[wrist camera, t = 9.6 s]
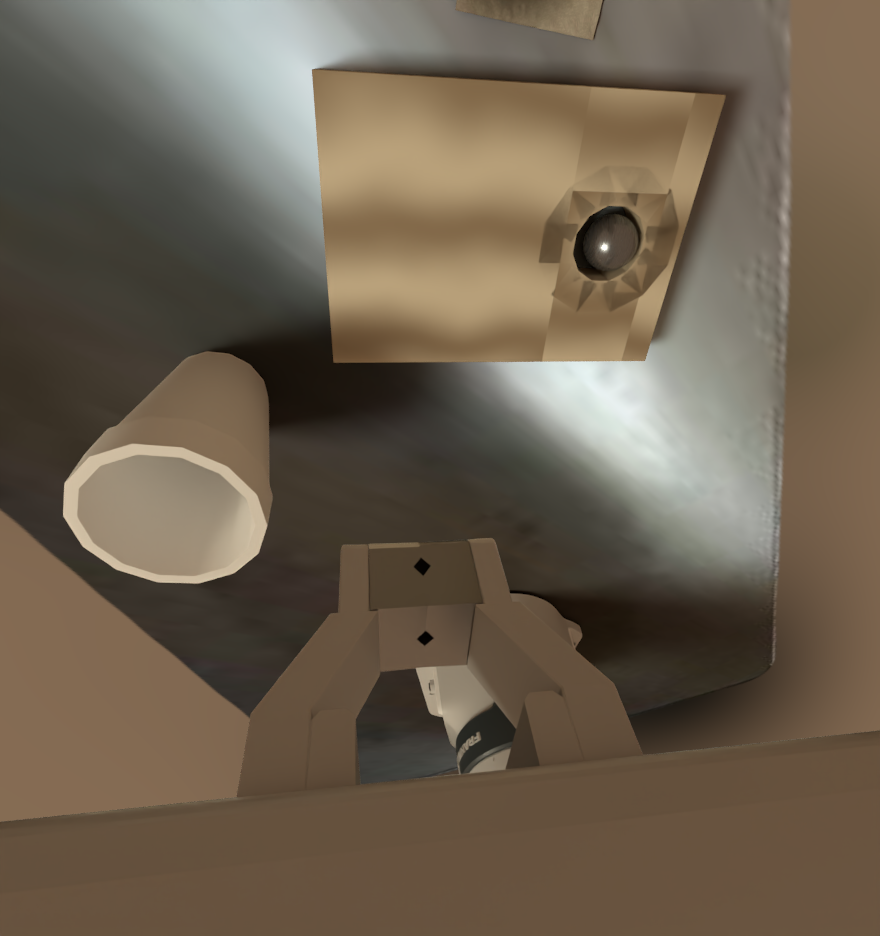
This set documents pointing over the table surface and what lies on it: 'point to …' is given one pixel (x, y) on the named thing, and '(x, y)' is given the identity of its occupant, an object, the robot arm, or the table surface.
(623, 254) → the ball
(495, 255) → the wooden board
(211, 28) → the table surface
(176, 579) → the foam cup
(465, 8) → the condiment
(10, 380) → the table surface
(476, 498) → the table surface
